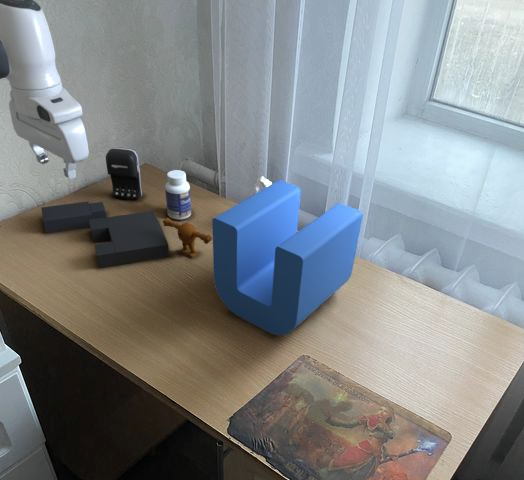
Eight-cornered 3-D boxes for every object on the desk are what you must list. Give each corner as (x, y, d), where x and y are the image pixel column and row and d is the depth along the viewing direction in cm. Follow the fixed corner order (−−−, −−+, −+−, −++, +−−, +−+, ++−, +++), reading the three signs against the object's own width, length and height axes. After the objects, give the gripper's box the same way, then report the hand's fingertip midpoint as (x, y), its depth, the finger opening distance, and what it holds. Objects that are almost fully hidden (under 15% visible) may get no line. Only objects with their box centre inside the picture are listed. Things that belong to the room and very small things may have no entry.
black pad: (99, 268, 106) (97, 255, 104) (90, 232, 115) (88, 219, 113) (169, 256, 110) (168, 244, 108) (155, 222, 119) (154, 210, 117)
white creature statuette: (230, 224, 120) (229, 173, 112) (262, 214, 123) (264, 165, 115) (252, 244, 114) (254, 192, 106) (285, 234, 118) (289, 183, 110)
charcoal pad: (46, 233, 114) (43, 221, 112) (44, 219, 118) (41, 207, 116) (108, 224, 118) (106, 212, 116) (104, 211, 122) (102, 199, 120)
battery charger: (110, 200, 126) (101, 152, 118) (115, 192, 128) (107, 145, 120) (139, 203, 125) (132, 155, 117) (143, 195, 128) (138, 148, 120)
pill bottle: (184, 222, 120) (181, 181, 113) (163, 217, 121) (159, 176, 114) (195, 211, 123) (193, 171, 117) (174, 206, 125) (171, 166, 118)
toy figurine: (160, 247, 112) (157, 218, 107) (172, 240, 114) (169, 211, 110) (205, 268, 107) (204, 238, 103) (216, 259, 110) (216, 230, 105)
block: (214, 303, 99) (212, 216, 87) (272, 261, 110) (277, 178, 98) (293, 345, 92) (303, 257, 80) (347, 296, 103) (363, 211, 90)
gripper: (-7, 88, 102) (14, 158, 112) (57, 117, 93) (73, 191, 103) (23, 81, 106) (40, 149, 115) (87, 108, 97) (100, 180, 106)
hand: (56, 169), depth 109 cm, fingers open, 8 cm apart
